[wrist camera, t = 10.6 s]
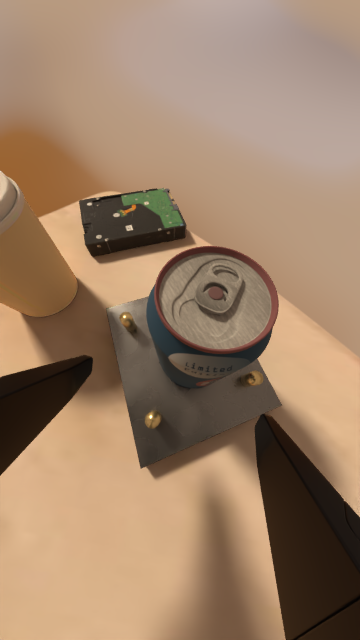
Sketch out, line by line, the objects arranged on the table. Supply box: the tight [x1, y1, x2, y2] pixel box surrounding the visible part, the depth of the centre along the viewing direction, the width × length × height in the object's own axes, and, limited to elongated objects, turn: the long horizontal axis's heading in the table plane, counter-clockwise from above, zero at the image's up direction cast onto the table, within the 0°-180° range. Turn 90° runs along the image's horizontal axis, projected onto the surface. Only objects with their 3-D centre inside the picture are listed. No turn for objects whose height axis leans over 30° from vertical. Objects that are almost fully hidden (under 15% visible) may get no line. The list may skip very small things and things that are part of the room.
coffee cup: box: [0, 171, 78, 317], centre depth 18 cm, size 9×9×12 cm
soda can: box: [146, 246, 279, 388], centre depth 14 cm, size 7×7×12 cm
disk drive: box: [79, 188, 186, 256], centre depth 29 cm, size 10×3×15 cm
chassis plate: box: [106, 297, 282, 468], centre depth 19 cm, size 16×14×4 cm
